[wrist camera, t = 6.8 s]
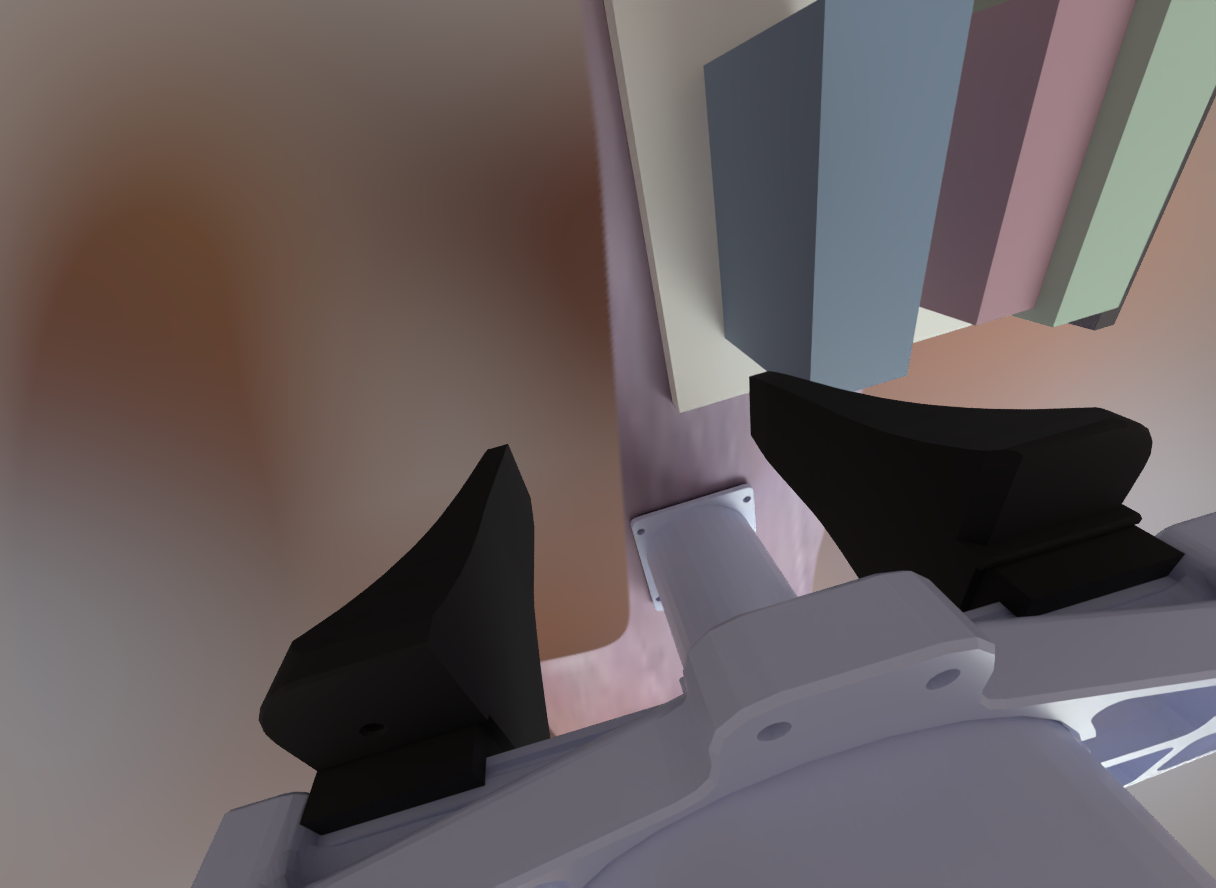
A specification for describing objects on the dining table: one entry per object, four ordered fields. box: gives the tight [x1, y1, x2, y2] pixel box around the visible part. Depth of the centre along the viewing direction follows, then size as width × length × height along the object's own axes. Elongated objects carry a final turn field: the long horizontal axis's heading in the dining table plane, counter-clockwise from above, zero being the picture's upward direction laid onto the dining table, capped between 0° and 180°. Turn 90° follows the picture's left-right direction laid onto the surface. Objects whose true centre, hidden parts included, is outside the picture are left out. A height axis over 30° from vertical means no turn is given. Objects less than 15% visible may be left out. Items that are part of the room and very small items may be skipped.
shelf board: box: [604, 0, 972, 413], centre depth 18 cm, size 16×16×1 cm
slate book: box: [703, 0, 974, 392], centre depth 15 cm, size 10×4×7 cm, turn 13°
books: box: [919, 0, 1216, 327], centre depth 15 cm, size 10×5×6 cm, turn 13°
